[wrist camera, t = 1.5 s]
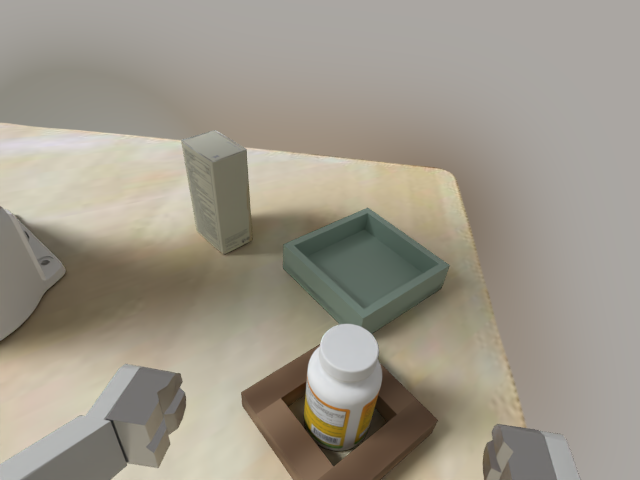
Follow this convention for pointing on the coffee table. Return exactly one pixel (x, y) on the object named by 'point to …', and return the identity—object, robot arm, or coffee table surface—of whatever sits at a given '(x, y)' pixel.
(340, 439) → the supplement bottle
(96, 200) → the coffee table surface
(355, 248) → the tray
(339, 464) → the socket block
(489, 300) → the coffee table surface
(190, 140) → the skincare box
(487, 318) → the coffee table surface
